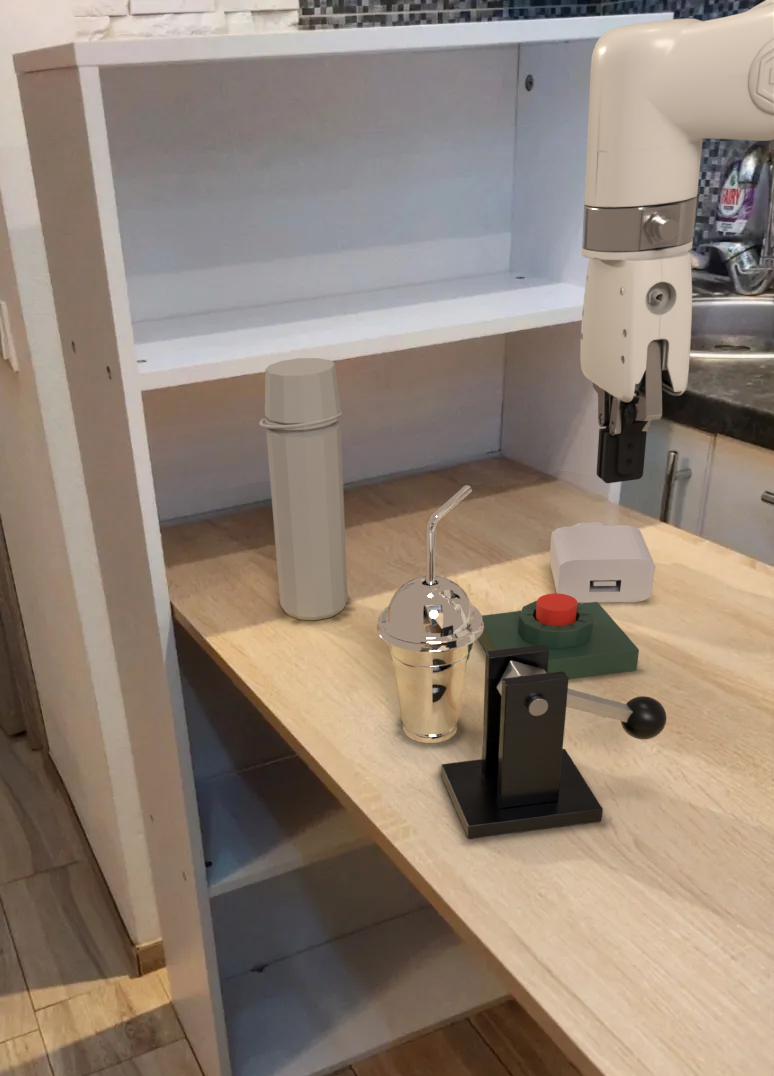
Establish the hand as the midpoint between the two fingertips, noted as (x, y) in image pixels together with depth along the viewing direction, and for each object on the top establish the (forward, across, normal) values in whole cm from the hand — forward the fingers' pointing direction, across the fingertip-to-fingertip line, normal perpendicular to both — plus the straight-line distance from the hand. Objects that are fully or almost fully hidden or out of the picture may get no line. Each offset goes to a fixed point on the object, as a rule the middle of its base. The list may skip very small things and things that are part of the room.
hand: (619, 477), depth 82 cm
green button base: (+19, +6, +3) cm, 20 cm away
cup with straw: (+18, -4, +17) cm, 25 cm away
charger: (+19, +22, -7) cm, 30 cm away
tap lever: (+12, -15, +8) cm, 21 cm away
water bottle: (+18, +21, +24) cm, 37 cm away
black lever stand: (+18, -16, +13) cm, 27 cm away
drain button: (+15, +6, +3) cm, 16 cm away
